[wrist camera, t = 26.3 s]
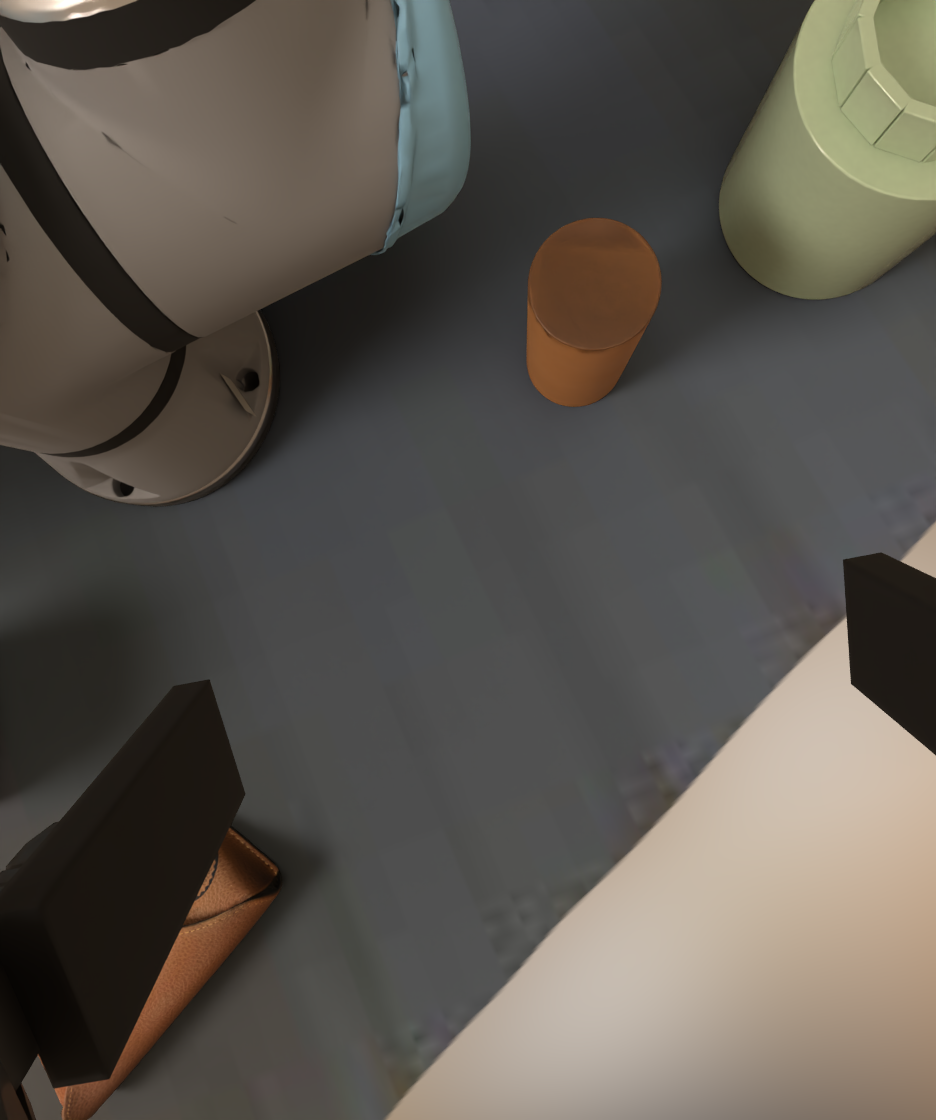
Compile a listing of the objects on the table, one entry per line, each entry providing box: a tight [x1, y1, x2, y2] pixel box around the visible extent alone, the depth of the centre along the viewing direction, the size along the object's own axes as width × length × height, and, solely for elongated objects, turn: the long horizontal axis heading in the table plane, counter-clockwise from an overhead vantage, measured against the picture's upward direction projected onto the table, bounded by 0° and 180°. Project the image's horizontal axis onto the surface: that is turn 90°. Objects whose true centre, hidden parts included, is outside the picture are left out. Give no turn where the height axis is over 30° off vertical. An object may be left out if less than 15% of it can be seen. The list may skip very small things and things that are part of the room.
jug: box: [719, 0, 936, 299], centre depth 35 cm, size 11×14×14 cm
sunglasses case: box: [38, 826, 282, 1120], centre depth 44 cm, size 18×7×7 cm, turn 141°
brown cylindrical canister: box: [527, 218, 662, 407], centre depth 38 cm, size 6×6×12 cm
